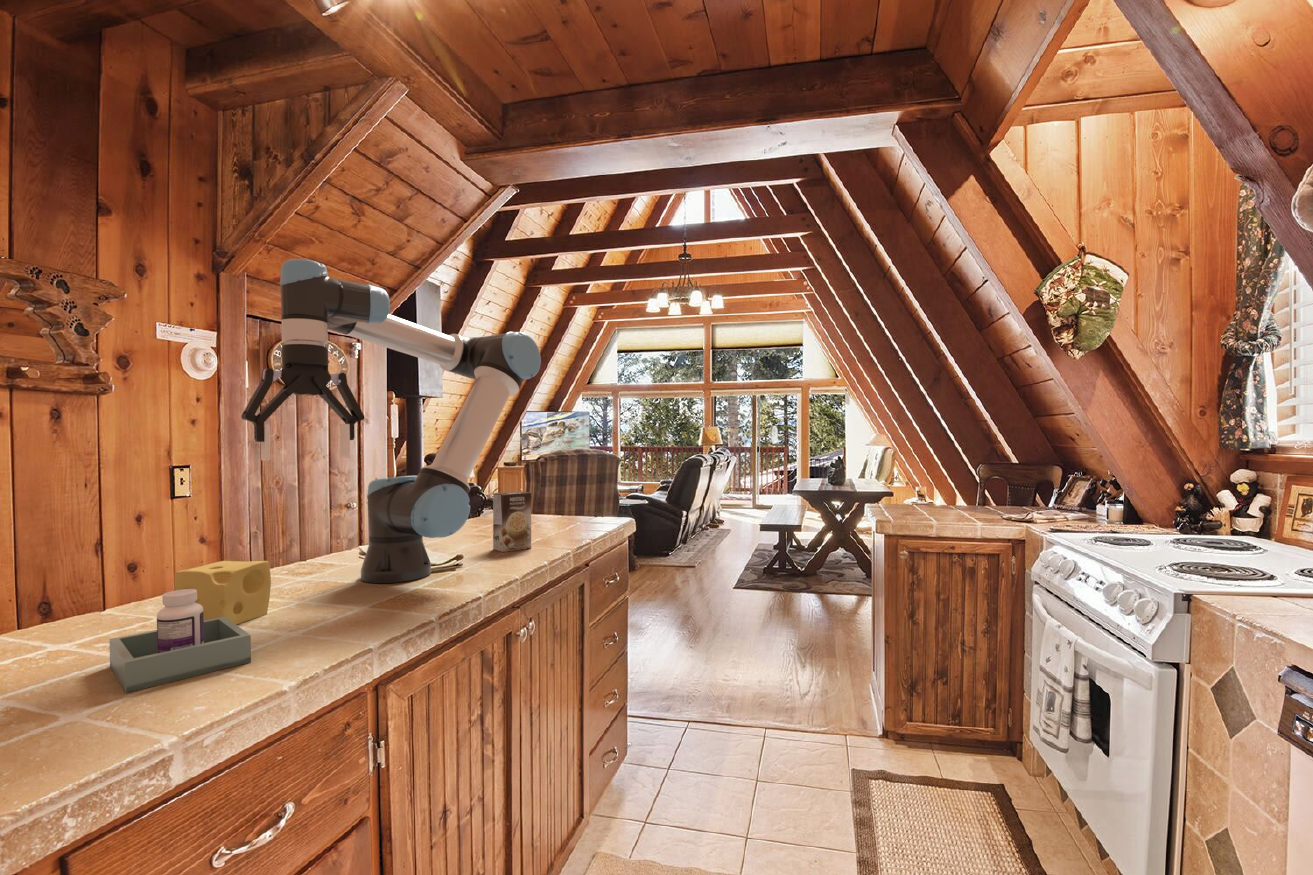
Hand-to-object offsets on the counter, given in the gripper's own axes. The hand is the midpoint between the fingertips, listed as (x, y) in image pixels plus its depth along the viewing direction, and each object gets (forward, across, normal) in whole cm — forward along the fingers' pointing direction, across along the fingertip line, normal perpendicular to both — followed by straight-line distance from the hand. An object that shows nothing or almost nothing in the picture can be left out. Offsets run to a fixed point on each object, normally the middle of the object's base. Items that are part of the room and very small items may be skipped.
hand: (307, 459), depth 115 cm
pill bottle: (+28, +22, +14) cm, 38 cm away
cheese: (+29, +12, -7) cm, 32 cm away
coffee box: (+29, -61, -23) cm, 71 cm away
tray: (+29, +22, +14) cm, 39 cm away
